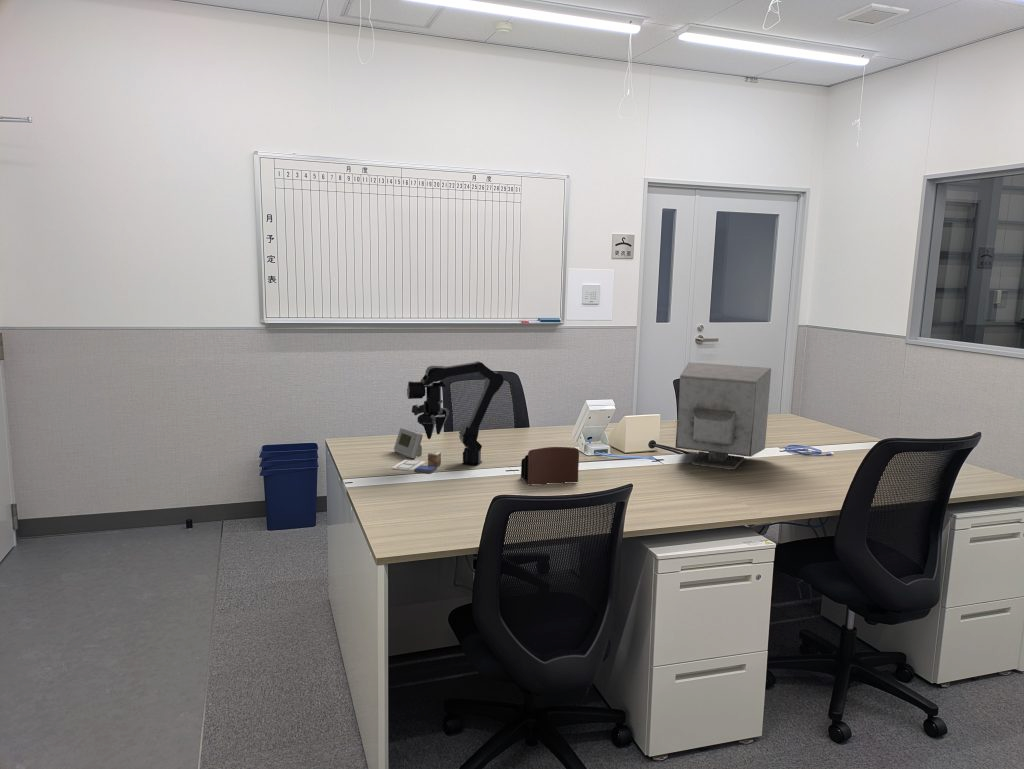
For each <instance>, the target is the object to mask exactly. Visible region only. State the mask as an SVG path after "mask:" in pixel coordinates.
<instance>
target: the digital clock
mask: <svg viewBox="0 0 1024 769" xmlns="http://www.w3.org/2000/svg"><path fill="white" fill-rule="evenodd" d="M423 436H424V435H423V434H422V433H420V432H419V431H416V430H413V429H410V428H406V427H404V426H403V427H400V428H399V431H398V434H397V438H396V440H395V444H394V446H393V451H394V452H395V453H397V454H399V455H401V456H404V457H406V458H408V459H415V458H416V456H417V457H421V455H422V456H423V454H422V453H423V452H422V451H423V447H422V444H421V443H422V441H423Z"/></svg>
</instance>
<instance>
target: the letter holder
mask: <svg viewBox="0 0 1024 769" xmlns="http://www.w3.org/2000/svg"><path fill="white" fill-rule="evenodd" d="M579 460H580V450H579V449H578V448H577V447H576V448H575V447H566V446H547V447H546V446H545V447H539V448H535V449H531V450H528V452H527V455H525V456H524V457H523V458H522V459H521V464H520V465H521V466H520V467H521V468H520V479H521V480H522V479H523V480H524V481H525V482H526V483H527V484H541V485H548V484H547V483H563V484H566V483H565V482H578V483H579V464H580V463H579V462H580V461H579ZM523 480H522V481H523ZM524 481H523V482H524ZM525 482H524V483H525ZM526 483H525V484H526ZM527 484H526V485H527Z"/></svg>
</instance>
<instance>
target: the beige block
mask: <svg viewBox="0 0 1024 769" xmlns="http://www.w3.org/2000/svg"><path fill="white" fill-rule="evenodd" d="M440 465H441V466H442V452H441V451H436V450H435V451H433V450H432V451H429V452H428V453H427V466H434V467H437V469H438V468H439V467H441V466H440Z"/></svg>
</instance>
